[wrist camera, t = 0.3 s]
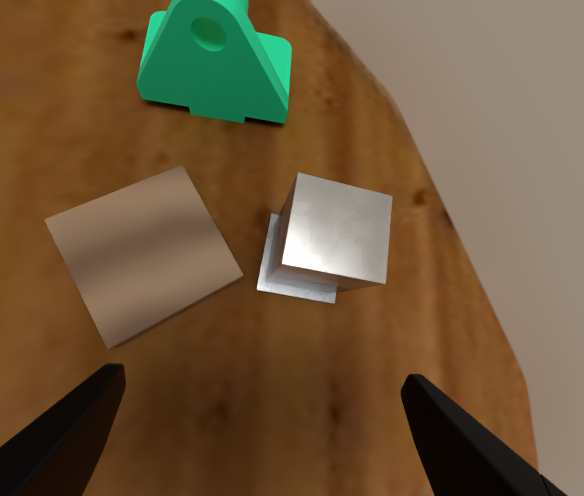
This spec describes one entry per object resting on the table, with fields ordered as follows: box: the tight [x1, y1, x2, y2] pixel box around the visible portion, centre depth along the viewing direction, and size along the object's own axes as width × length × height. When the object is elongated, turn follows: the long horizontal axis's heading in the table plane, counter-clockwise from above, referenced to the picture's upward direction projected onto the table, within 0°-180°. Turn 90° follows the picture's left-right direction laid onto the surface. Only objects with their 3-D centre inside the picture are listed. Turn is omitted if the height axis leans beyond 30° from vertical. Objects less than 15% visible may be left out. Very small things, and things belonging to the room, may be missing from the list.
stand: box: [45, 165, 244, 349], centre depth 21 cm, size 10×10×2 cm
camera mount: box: [136, 0, 292, 123], centre depth 21 cm, size 12×8×10 cm, turn 87°
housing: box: [256, 173, 392, 304], centre depth 19 cm, size 6×6×10 cm
